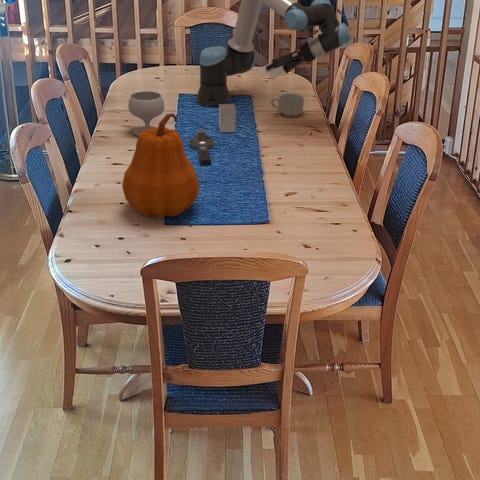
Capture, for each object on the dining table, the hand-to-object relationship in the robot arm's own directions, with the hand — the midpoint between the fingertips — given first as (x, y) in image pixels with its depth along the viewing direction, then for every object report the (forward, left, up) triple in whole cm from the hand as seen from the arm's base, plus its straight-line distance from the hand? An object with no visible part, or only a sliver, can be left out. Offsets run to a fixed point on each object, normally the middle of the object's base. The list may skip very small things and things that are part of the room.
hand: (264, 74), depth 299 cm
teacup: (-3, +17, -21) cm, 27 cm away
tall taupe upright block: (-4, -16, -21) cm, 26 cm away
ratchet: (+9, -39, -21) cm, 46 cm away
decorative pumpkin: (+38, -80, -21) cm, 91 cm away
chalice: (-22, -42, -21) cm, 52 cm away
